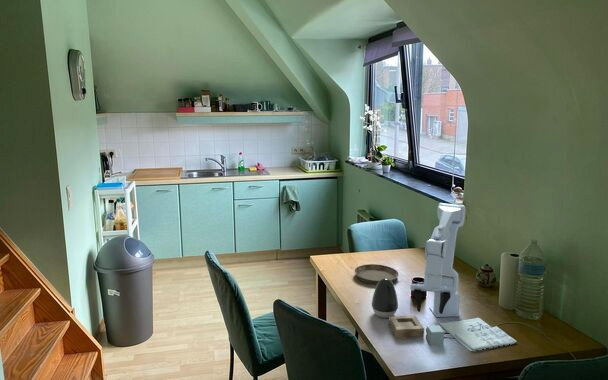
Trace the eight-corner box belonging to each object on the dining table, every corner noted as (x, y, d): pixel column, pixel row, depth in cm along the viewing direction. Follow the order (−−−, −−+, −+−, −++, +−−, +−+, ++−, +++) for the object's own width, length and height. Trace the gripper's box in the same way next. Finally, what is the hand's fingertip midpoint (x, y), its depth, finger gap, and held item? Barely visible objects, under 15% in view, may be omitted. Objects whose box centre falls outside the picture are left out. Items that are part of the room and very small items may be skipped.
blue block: (438, 338, 164) (439, 325, 163) (443, 344, 159) (444, 331, 158) (426, 338, 163) (427, 325, 162) (430, 345, 159) (431, 332, 158)
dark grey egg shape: (378, 322, 174) (379, 285, 171) (367, 310, 184) (368, 275, 181) (402, 319, 177) (404, 282, 174) (390, 307, 187) (391, 272, 184)
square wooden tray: (414, 323, 174) (415, 315, 173) (423, 337, 164) (424, 328, 163) (389, 324, 173) (389, 316, 172) (396, 338, 163) (396, 329, 162)
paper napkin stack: (470, 353, 155) (471, 348, 154) (437, 325, 174) (438, 320, 173) (517, 345, 160) (518, 340, 159) (480, 318, 179) (480, 313, 178)
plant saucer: (396, 270, 226) (396, 264, 226) (400, 288, 206) (400, 281, 206) (354, 269, 228) (354, 263, 228) (354, 286, 208) (354, 279, 208)
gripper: (414, 274, 156) (410, 313, 157) (457, 278, 155) (453, 317, 156) (410, 269, 163) (407, 307, 164) (452, 273, 162) (448, 310, 163)
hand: (429, 311), depth 160 cm, fingers open, 7 cm apart
